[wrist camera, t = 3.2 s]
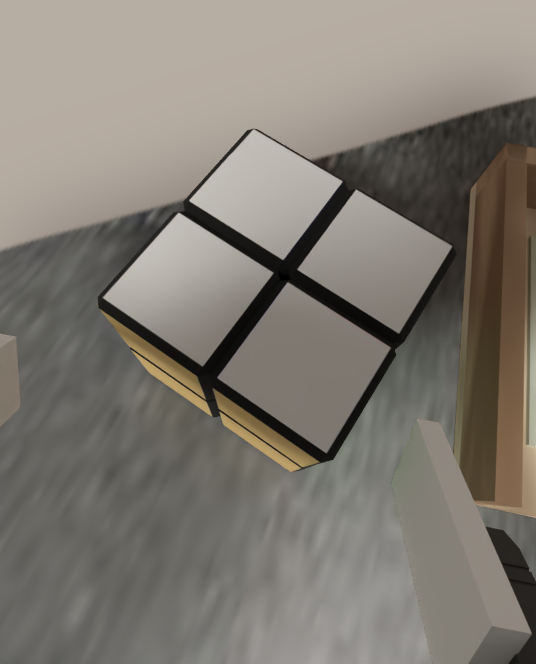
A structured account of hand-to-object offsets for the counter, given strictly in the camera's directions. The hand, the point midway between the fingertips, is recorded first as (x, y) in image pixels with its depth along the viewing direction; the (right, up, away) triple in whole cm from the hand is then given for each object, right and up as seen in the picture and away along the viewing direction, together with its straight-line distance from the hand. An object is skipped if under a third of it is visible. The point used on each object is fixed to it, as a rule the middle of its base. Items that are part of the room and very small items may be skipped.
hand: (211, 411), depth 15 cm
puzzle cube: (+2, +2, +11) cm, 12 cm away
